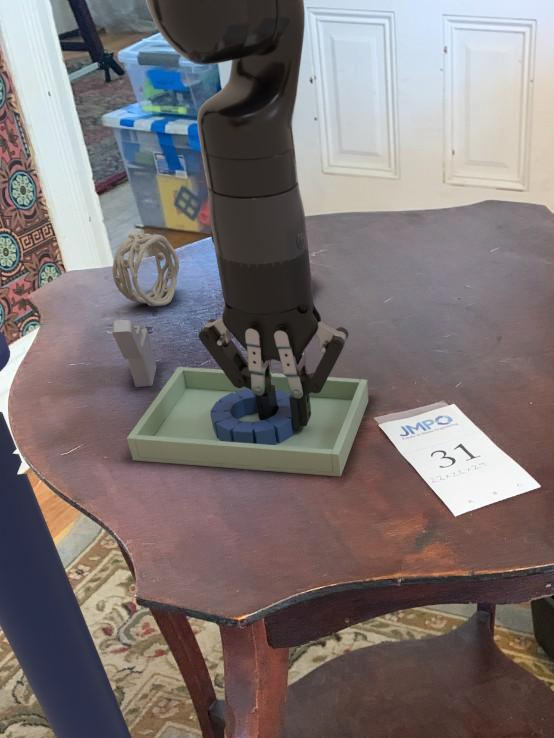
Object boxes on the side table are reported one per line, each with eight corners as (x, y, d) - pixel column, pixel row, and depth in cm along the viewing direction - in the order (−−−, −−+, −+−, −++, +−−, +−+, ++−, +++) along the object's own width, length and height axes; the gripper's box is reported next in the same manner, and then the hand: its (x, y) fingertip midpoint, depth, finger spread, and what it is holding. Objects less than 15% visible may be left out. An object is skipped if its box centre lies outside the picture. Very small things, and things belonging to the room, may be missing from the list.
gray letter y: (139, 367, 90) (120, 294, 85) (156, 366, 91) (138, 293, 85) (131, 401, 85) (110, 326, 80) (148, 400, 86) (129, 325, 80)
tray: (132, 460, 78) (126, 438, 76) (183, 387, 87) (178, 366, 86) (340, 476, 76) (338, 454, 75) (368, 400, 86) (367, 379, 84)
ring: (202, 444, 79) (199, 428, 78) (229, 401, 85) (226, 385, 84) (286, 451, 78) (284, 434, 77) (307, 407, 84) (305, 390, 83)
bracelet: (189, 292, 104) (175, 225, 99) (148, 318, 99) (131, 249, 94) (162, 286, 105) (147, 220, 100) (120, 312, 100) (102, 243, 95)
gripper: (353, 230, 72) (364, 411, 83) (194, 221, 73) (228, 400, 84) (334, 265, 66) (349, 453, 78) (162, 254, 67) (203, 442, 79)
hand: (286, 425), depth 81 cm, fingers closed on ring, 2 cm apart
